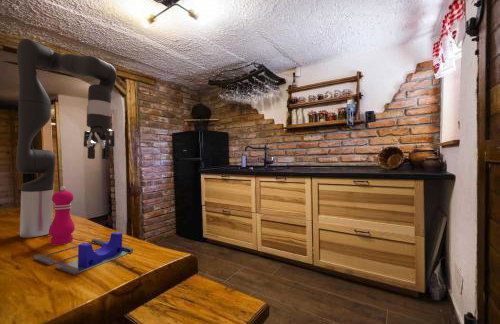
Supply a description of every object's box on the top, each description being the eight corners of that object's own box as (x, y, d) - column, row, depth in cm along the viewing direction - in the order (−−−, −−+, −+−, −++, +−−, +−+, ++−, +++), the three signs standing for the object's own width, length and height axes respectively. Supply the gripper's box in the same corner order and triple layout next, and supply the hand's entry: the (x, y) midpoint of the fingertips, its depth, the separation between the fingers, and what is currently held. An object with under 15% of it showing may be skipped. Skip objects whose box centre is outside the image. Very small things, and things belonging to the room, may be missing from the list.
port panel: (34, 259, 67) (34, 254, 67) (94, 241, 83) (94, 238, 83) (74, 274, 58) (74, 270, 58) (132, 252, 74) (133, 248, 74)
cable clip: (110, 249, 74) (111, 231, 74) (121, 251, 73) (122, 233, 73) (73, 265, 63) (74, 244, 63) (86, 268, 62) (86, 245, 62)
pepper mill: (43, 243, 80) (45, 186, 80) (66, 237, 86) (68, 184, 86) (56, 246, 77) (57, 187, 77) (79, 240, 84) (80, 186, 84)
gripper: (76, 114, 83) (75, 158, 83) (101, 111, 77) (100, 159, 77) (97, 118, 89) (96, 159, 89) (121, 115, 83) (120, 159, 83)
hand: (98, 159), depth 83 cm, fingers open, 8 cm apart
